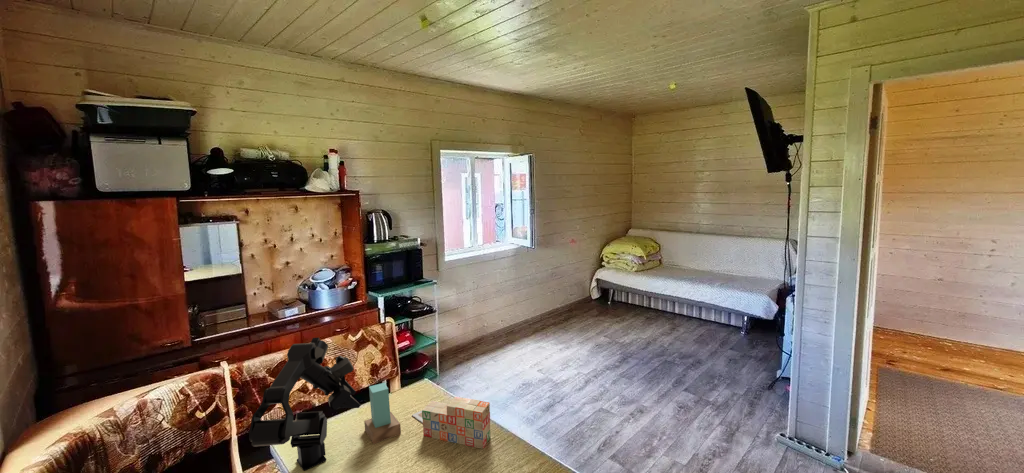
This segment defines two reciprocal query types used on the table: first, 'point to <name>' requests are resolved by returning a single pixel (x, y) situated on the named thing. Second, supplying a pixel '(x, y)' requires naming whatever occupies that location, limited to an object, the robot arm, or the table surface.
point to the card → (418, 416)
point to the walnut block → (382, 430)
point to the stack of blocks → (458, 421)
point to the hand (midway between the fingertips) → (357, 399)
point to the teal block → (380, 405)
